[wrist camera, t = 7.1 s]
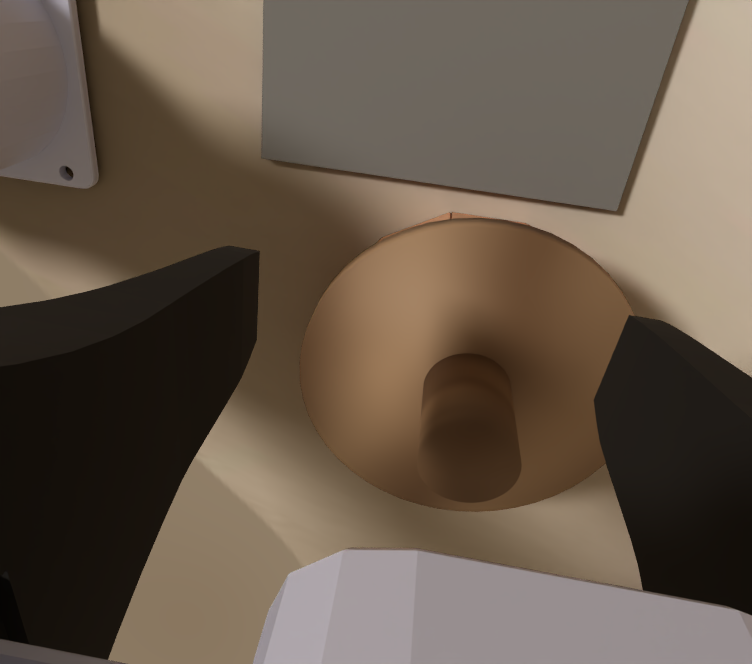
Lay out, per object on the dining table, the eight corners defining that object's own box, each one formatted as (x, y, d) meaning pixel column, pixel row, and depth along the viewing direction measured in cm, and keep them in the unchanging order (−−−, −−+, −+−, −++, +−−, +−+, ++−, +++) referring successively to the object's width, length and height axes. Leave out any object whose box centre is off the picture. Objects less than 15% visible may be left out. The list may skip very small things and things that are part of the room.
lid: (298, 468, 22) (266, 561, 19) (314, 191, 17) (274, 247, 13) (582, 517, 22) (608, 622, 18) (697, 248, 16) (767, 322, 13)
